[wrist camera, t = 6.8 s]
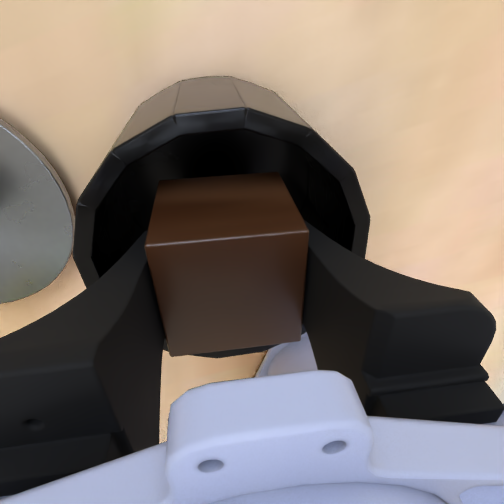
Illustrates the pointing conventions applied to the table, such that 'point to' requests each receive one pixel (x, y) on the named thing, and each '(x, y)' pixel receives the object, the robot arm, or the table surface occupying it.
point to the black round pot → (213, 169)
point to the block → (227, 262)
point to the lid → (30, 218)
